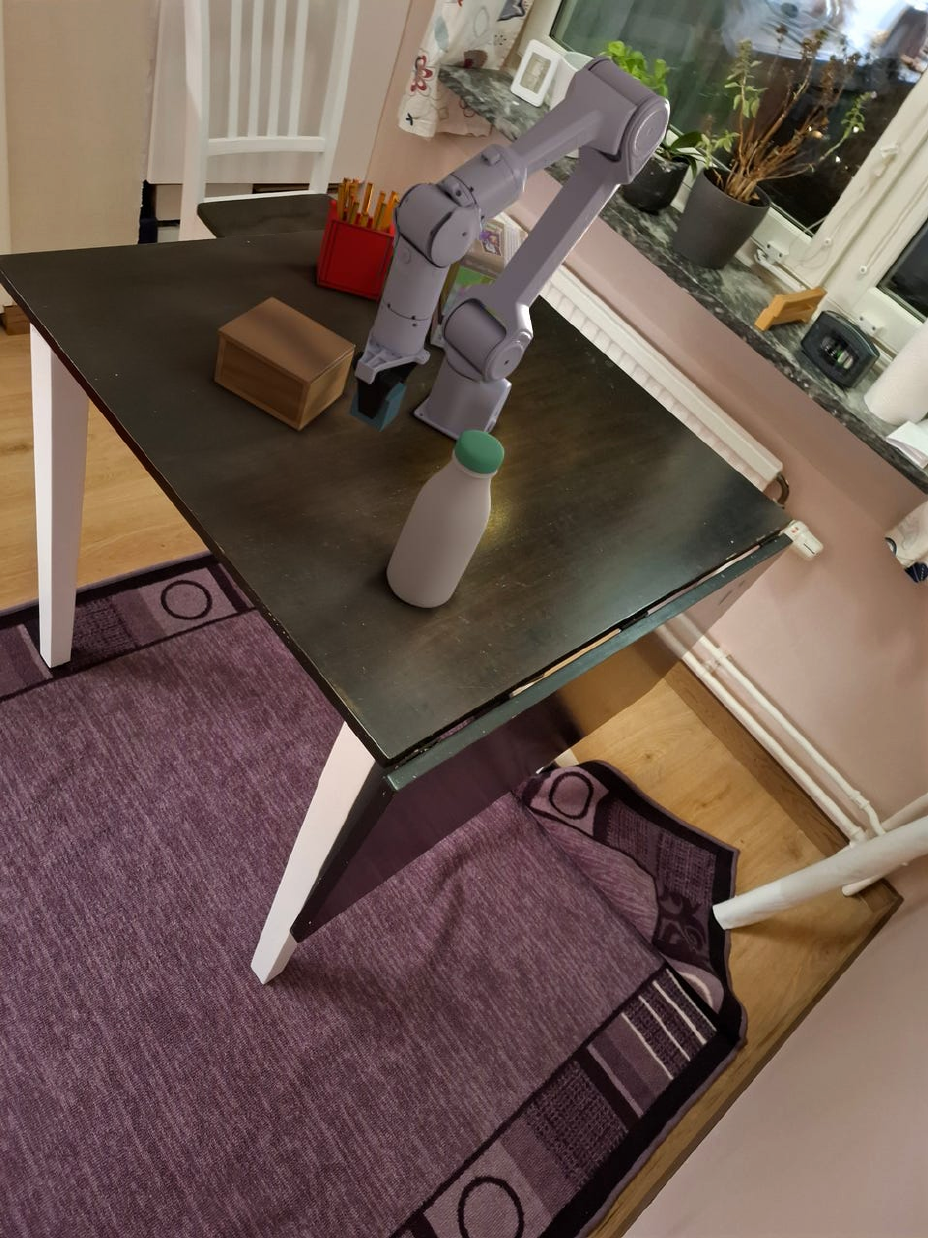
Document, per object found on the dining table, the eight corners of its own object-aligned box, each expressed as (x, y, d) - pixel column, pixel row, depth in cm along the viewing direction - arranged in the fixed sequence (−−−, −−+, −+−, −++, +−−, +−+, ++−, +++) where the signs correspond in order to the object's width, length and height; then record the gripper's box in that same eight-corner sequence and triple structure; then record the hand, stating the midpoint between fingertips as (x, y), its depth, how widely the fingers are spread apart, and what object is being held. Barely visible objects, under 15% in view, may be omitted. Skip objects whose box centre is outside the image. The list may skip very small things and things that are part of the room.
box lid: (306, 387, 94) (308, 382, 93) (216, 334, 94) (217, 328, 94) (354, 349, 102) (355, 345, 101) (271, 301, 102) (272, 296, 102)
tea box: (491, 366, 123) (530, 277, 113) (428, 345, 121) (461, 251, 110) (492, 315, 133) (528, 228, 123) (434, 294, 131) (465, 204, 120)
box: (298, 431, 99) (310, 385, 94) (214, 380, 100) (220, 332, 95) (341, 394, 107) (354, 350, 102) (262, 347, 107) (271, 301, 102)
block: (396, 415, 100) (406, 386, 97) (380, 431, 97) (390, 402, 94) (366, 397, 101) (375, 367, 97) (348, 413, 98) (357, 382, 94)
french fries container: (316, 262, 125) (337, 169, 115) (375, 277, 128) (400, 189, 118) (317, 287, 121) (338, 193, 111) (377, 302, 124) (403, 212, 114)
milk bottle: (443, 620, 88) (514, 485, 74) (376, 593, 87) (434, 451, 73) (458, 572, 94) (527, 438, 79) (395, 546, 93) (453, 405, 78)
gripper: (410, 348, 83) (376, 450, 93) (466, 299, 93) (430, 396, 103) (351, 313, 83) (323, 418, 93) (413, 268, 93) (381, 367, 103)
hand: (375, 405), depth 98 cm, fingers closed on block, 4 cm apart
